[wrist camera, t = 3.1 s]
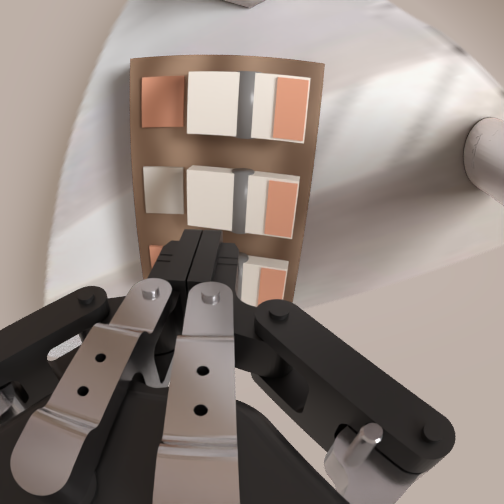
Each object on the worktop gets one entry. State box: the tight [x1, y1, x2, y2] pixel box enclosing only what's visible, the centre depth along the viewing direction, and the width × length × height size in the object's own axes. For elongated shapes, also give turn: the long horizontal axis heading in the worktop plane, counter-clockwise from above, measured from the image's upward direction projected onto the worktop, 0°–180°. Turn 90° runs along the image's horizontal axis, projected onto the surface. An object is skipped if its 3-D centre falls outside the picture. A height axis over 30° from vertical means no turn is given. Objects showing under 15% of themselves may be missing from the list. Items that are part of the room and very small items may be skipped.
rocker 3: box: [237, 252, 289, 307], centre depth 31 cm, size 9×5×2 cm, turn 86°
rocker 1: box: [187, 71, 310, 144], centre depth 22 cm, size 9×5×2 cm, turn 86°
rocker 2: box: [187, 165, 300, 239], centre depth 27 cm, size 9×5×2 cm, turn 86°
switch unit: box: [130, 55, 325, 302], centre depth 30 cm, size 16×24×4 cm, turn 176°
